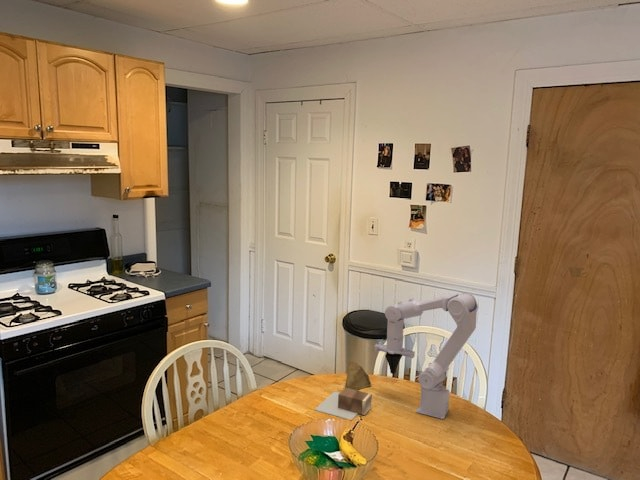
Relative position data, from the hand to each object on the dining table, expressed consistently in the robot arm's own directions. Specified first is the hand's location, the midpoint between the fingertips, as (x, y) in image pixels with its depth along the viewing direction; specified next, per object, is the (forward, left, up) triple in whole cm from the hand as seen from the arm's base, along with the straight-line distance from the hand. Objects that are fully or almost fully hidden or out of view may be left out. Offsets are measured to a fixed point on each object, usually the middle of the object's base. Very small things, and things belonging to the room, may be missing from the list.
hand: (393, 372), depth 175 cm
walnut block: (+3, +15, -7) cm, 17 cm away
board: (+13, +15, -9) cm, 22 cm away
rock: (+14, -1, -10) cm, 17 cm away
